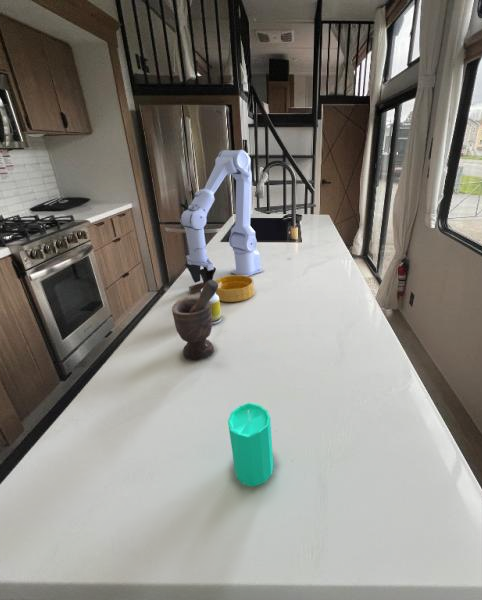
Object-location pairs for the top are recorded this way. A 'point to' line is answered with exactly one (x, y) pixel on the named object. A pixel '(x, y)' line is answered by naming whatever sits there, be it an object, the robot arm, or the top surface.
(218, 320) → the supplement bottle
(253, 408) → the candle
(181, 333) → the mortar and pestle
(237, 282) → the bowl
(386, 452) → the top surface
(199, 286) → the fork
